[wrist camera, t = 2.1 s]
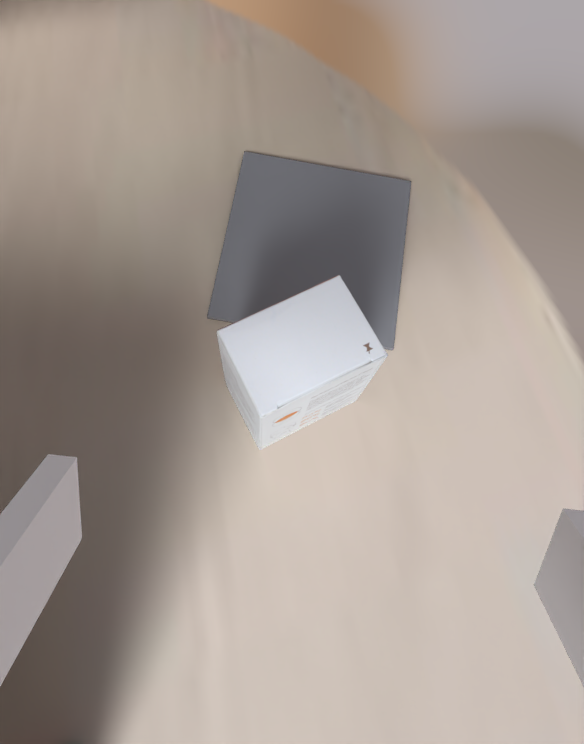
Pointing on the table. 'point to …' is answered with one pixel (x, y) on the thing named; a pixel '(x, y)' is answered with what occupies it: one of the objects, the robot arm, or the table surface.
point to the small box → (299, 360)
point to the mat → (312, 239)
